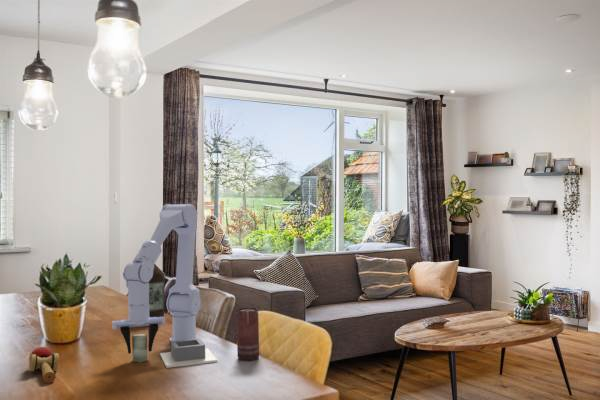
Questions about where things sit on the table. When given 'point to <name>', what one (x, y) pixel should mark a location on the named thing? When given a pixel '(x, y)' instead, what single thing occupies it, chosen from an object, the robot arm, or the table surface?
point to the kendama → (44, 363)
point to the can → (247, 334)
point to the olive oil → (156, 293)
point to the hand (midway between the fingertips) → (139, 351)
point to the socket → (187, 353)
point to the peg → (139, 347)
